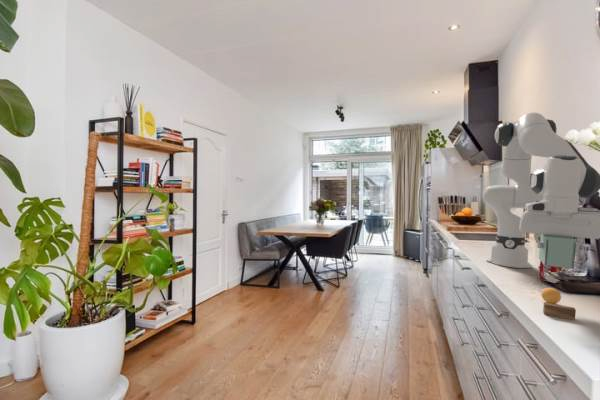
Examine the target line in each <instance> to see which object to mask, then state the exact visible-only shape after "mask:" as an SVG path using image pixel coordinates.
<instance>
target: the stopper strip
mask: <svg viewBox="0 0 600 400" xmlns="http://www.w3.org/2000/svg"><path fill="white" fill-rule="evenodd" d="M542 309H543V310H542V312H543V315H545V316H551V317H557V318H560V319H566V320H573V321H576V313H577V312H576V311H577V309H576V308H575V307H572V306H567V305H561V304H557V303H555V304H551V303H548V302H543V308H542Z"/></svg>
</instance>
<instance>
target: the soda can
mask: <svg viewBox="0 0 600 400" xmlns="http://www.w3.org/2000/svg"><path fill="white" fill-rule="evenodd" d="M561 269H562V270H563V267H555V266H547V265H544V264H543V263H542V261H541V260H540V259H539V271H538V272H539V274H538V275H539V276H538V277H539V279H540V280H541V281H542V280H543V282H544V281H546V279H545V276H544V271H551V272H559V271H561Z"/></svg>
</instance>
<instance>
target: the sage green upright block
mask: <svg viewBox="0 0 600 400" xmlns="http://www.w3.org/2000/svg"><path fill="white" fill-rule="evenodd" d="M539 241H540V242H543V243H544V245H543V248H539V251H538V259H539V261H540V260H541V261H542V263H543V264H544V265H547V266H555V267H562V269H572V270H574V269H575V257H576V252H575V249H576V242H577V240H576V238H575V237H567V236H555V235H544V234H540V237H539Z"/></svg>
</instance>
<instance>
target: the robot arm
mask: <svg viewBox="0 0 600 400" xmlns="http://www.w3.org/2000/svg"><path fill="white" fill-rule="evenodd" d="M494 140H495V143H496V144H497V145H498V146H500V147H504V151H503V157H502V158H503V159H502V169H501V171H502V175H503V176H504V177H506V178H508V179H510V180H512V181H514V182H515V183H516V184H515V185H512V184H511V185H508V184H496V185H490V186H487V187H486V188H485V189H484V191H483V192H482V199H483V202H484V203H485V205H487V206H488V207H489V208H490V209H491V210H492V211H493V212H494V213H495V214H494V215H495V216H496V221H497V233H496V235H495V243H494V244H493V245H491V253H490V257H489V258H486V262H488V263H493V264H494V265H497V266H502V267H508V268H514V269H515V268H517V269H521V268H522V269H524V268H526V269H527V268H529V269H532V268H533V265H532V264H531V263H529V262H528V260H529V249H528V248H527V247H526V246H525V245H526V236H525V234H533V238H534V240H535V241H536V242H537V243H536V248H537V249H540V248H543V245H544V243H543V242H540V237H541V234H544V235H555V236H567V237H572V238H575V239H576V249H575V253H577V252H578V248H579V247H580V246H581V245H582V244H583V242H584V239H591V240H599V239H600V209H598V208H594V207H592V208H589V207H580V206H579V204H580V199H581V198H583V199H587V198H590V197H591V196H594V195H595V194H596V193H597V192H599V191H600V173H599V172H598V170H596V168H594V167H592V166H591V164H589V162H587V160H586V159H585V158H584V157H583V155H581V153H580V152H579V150H578V149H577V148H576V146H575V145H574V144H573V143H572V142H570V141H569V140H567V139H565V138H563V137H562V136H561V135H559V134H557V125H556V122H555V121H554V120H552V119H547V118H546V117H545V116H544V115H543V114H541V113H538V112H529V113H527V114H524V115H522V116H521V117H520V118H519V119H518V120H516V121H511V122H509V121H508V122H507V121H506V122H502V123H500V124H499V125H497V127H496V129H495V132H494ZM568 141H569V142H568ZM532 157H541V158H547V161H546V164H545V165H543V166H542V167H538V168H537V169H535V170H534V171H533V172H532ZM511 209H525V211H524V212H523V213H522V214H521V216H519V215H516V214H515V213H513V212H512V210H511Z"/></svg>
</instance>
